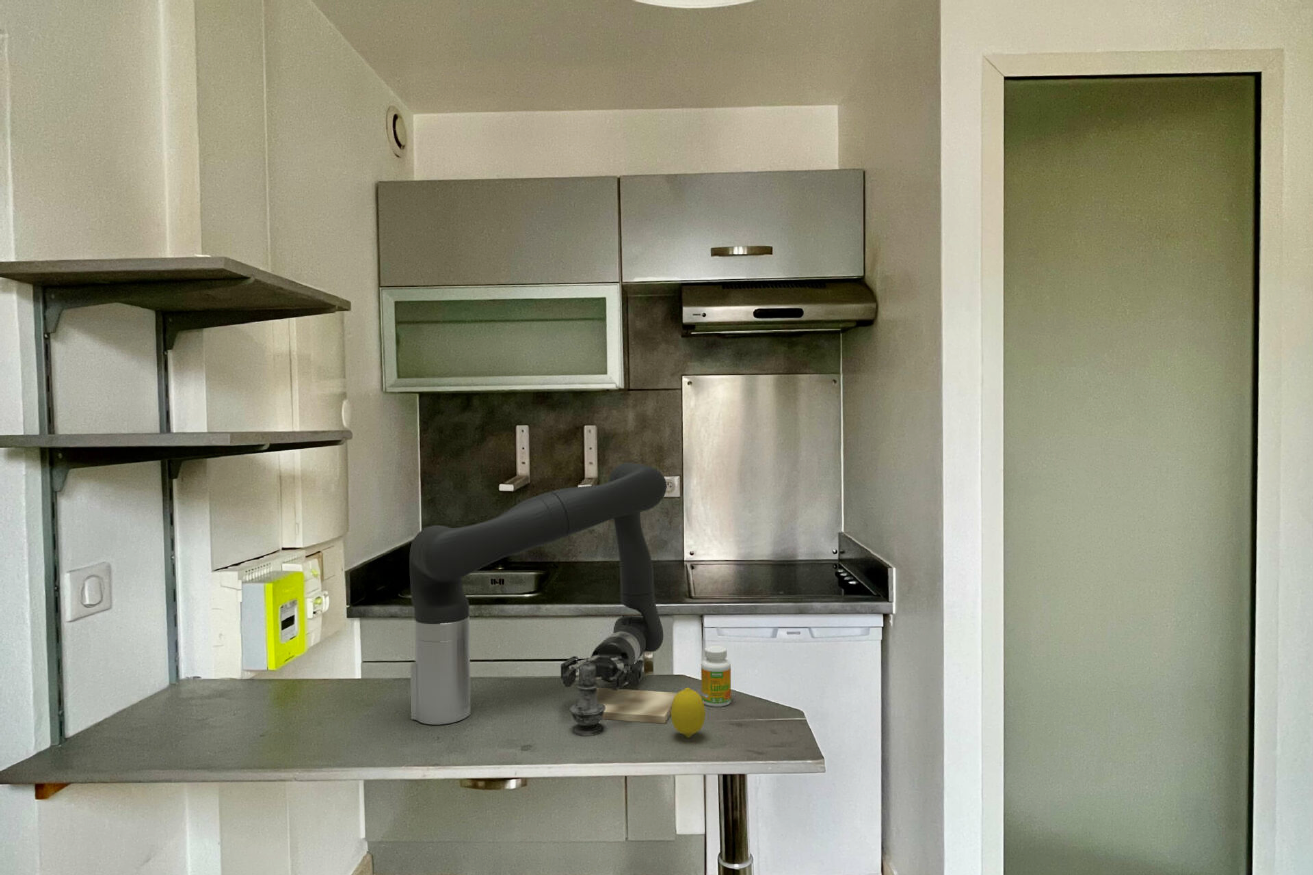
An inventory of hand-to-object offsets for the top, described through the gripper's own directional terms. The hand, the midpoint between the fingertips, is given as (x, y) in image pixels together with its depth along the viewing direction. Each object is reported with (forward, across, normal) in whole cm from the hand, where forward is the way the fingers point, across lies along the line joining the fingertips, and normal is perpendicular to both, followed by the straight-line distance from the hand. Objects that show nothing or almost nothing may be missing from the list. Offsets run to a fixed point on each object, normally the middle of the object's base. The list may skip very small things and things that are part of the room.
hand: (590, 682), depth 129 cm
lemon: (+2, +17, +7) cm, 19 cm away
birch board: (-9, +4, +7) cm, 12 cm away
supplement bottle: (-15, +19, +7) cm, 26 cm away
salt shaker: (+2, 0, +7) cm, 8 cm away
